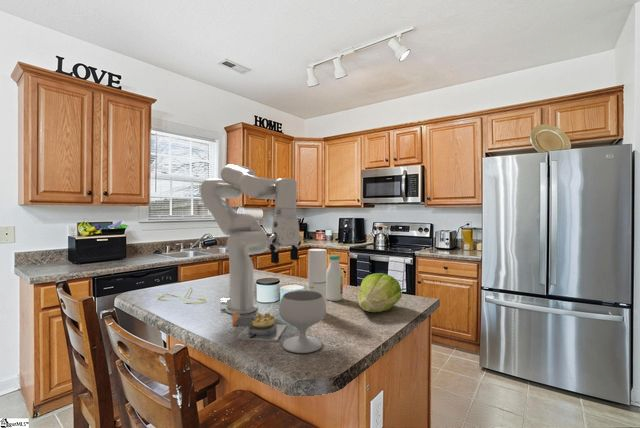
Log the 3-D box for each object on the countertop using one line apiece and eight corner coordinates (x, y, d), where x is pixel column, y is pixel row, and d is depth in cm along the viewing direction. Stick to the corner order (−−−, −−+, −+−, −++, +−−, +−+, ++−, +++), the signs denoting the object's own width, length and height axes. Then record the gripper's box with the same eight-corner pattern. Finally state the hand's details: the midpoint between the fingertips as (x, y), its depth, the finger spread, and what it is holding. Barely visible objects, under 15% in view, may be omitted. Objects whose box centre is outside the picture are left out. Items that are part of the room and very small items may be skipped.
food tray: (274, 320, 110) (274, 308, 110) (274, 328, 102) (274, 315, 102) (233, 322, 108) (233, 310, 108) (230, 330, 101) (230, 317, 101)
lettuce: (342, 316, 126) (345, 281, 123) (366, 295, 146) (370, 265, 144) (383, 331, 117) (388, 294, 115) (403, 306, 138) (407, 275, 135)
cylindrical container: (324, 316, 122) (324, 251, 122) (306, 315, 124) (306, 250, 124) (327, 311, 129) (327, 249, 129) (310, 309, 131) (310, 248, 131)
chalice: (335, 348, 94) (335, 296, 94) (294, 360, 86) (294, 304, 86) (309, 333, 105) (309, 287, 105) (270, 343, 97) (270, 293, 97)
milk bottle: (337, 302, 143) (337, 257, 142) (322, 299, 147) (322, 255, 147) (345, 298, 149) (345, 255, 149) (331, 296, 153) (331, 254, 153)
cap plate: (235, 339, 100) (235, 332, 100) (250, 324, 113) (250, 318, 113) (276, 341, 98) (276, 334, 98) (286, 326, 111) (286, 320, 111)
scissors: (153, 300, 146) (153, 289, 146) (170, 294, 155) (170, 285, 155) (197, 306, 137) (197, 294, 137) (212, 300, 146) (212, 289, 146)
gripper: (275, 213, 105) (274, 265, 105) (309, 213, 119) (308, 259, 119) (259, 213, 110) (259, 262, 110) (294, 213, 123) (293, 257, 124)
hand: (284, 261), depth 114 cm, fingers open, 9 cm apart
